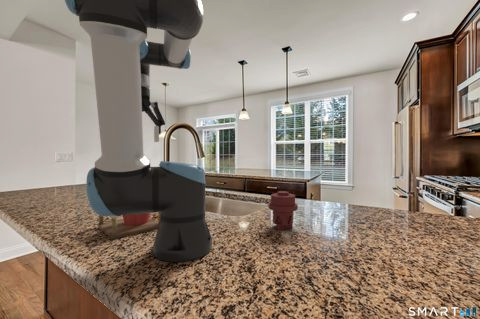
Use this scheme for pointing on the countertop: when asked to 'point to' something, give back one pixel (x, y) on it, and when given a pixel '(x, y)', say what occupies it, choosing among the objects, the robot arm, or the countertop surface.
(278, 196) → the mechanical component
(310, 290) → the countertop surface
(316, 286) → the countertop surface
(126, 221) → the flower pot
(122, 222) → the pot stand
